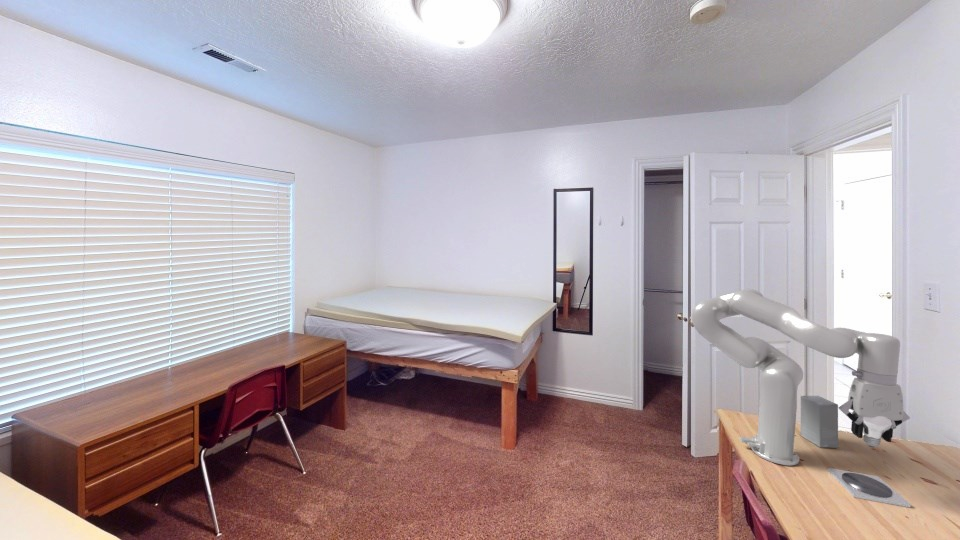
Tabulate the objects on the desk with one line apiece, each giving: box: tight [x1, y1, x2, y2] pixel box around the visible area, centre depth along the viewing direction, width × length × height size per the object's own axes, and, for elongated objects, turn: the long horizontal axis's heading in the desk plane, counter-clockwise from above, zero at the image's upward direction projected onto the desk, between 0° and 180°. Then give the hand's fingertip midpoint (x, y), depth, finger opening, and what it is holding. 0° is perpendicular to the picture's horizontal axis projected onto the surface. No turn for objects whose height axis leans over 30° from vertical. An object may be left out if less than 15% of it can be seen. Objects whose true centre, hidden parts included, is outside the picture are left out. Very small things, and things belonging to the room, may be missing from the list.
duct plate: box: [827, 467, 912, 508], centre depth 103 cm, size 12×12×1 cm
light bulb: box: [857, 414, 892, 448], centre depth 101 cm, size 7×7×12 cm
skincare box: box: [800, 395, 839, 449], centre depth 126 cm, size 8×7×16 cm
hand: (870, 436), depth 102 cm, fingers closed on light bulb, 5 cm apart
